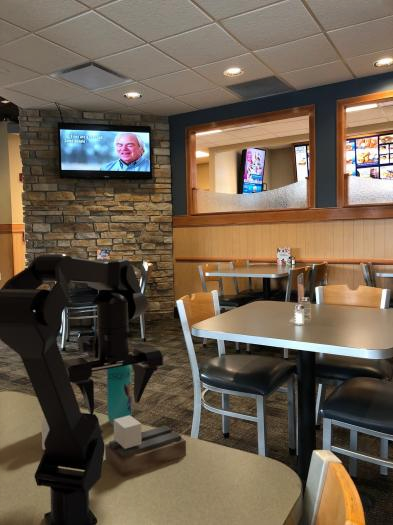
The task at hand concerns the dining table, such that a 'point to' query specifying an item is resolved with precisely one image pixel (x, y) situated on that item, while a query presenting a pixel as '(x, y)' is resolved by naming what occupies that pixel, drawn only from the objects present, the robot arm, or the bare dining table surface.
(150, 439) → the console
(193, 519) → the dining table surface
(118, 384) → the beverage can
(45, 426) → the pepper shaker
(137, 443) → the block
